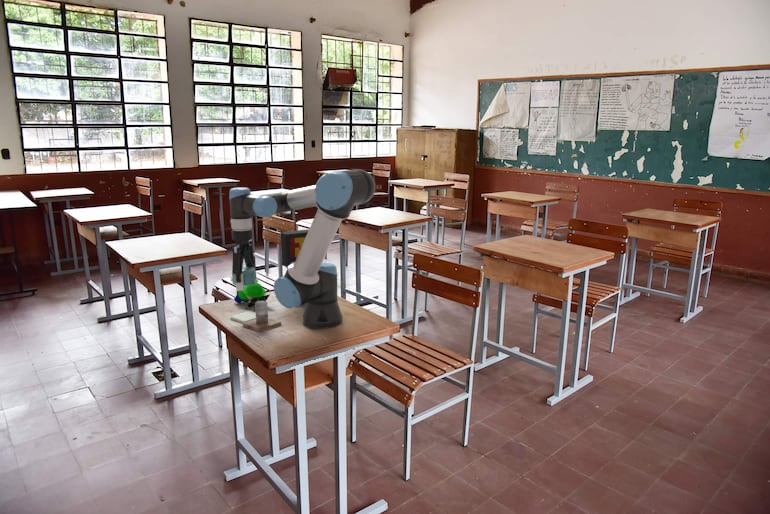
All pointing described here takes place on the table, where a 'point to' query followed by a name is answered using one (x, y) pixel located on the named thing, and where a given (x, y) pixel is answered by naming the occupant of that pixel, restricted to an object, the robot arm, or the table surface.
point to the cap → (246, 276)
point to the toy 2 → (291, 245)
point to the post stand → (261, 318)
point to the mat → (244, 316)
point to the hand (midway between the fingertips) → (244, 286)
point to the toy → (251, 294)
